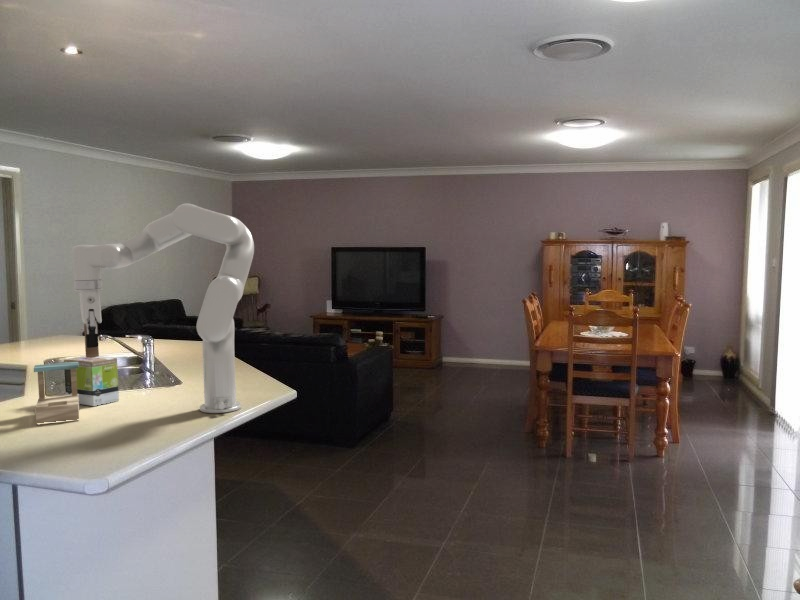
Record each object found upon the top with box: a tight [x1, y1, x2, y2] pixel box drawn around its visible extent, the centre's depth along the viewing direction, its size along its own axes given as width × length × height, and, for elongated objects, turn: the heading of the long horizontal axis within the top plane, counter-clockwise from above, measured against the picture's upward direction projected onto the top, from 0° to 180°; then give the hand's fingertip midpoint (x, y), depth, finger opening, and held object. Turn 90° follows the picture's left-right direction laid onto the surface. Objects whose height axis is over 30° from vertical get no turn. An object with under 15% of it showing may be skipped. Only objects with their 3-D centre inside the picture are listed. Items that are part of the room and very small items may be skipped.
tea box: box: [63, 355, 120, 407], centre depth 220 cm, size 15×10×15 cm, turn 59°
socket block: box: [33, 362, 80, 423], centre depth 200 cm, size 16×12×15 cm
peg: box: [83, 322, 100, 358], centre depth 201 cm, size 4×4×10 cm
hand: (91, 345), depth 201 cm, fingers closed on peg, 3 cm apart
